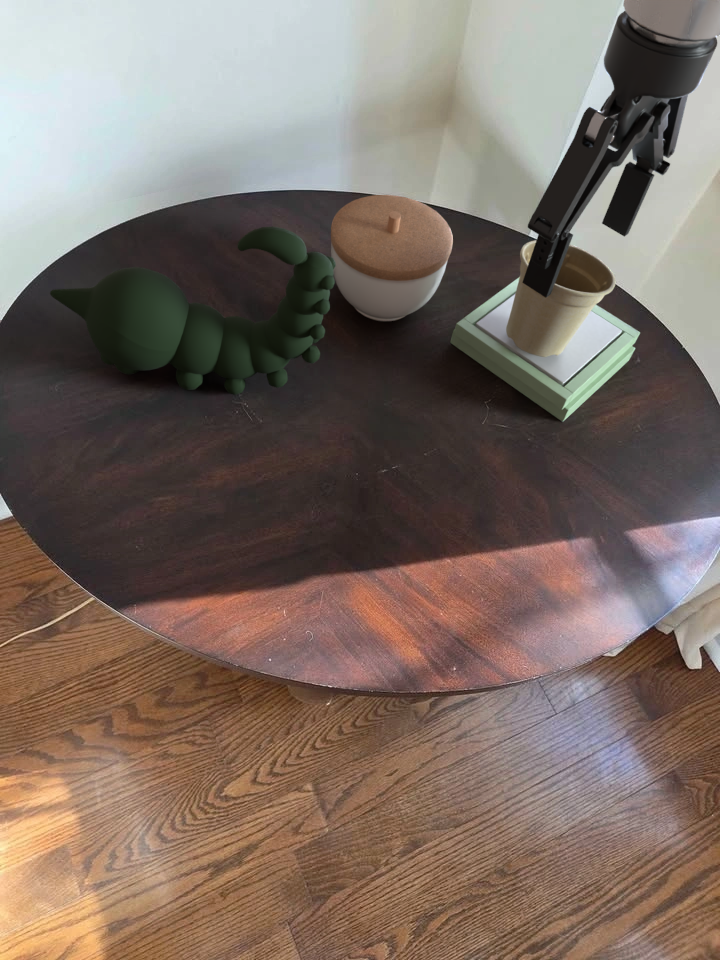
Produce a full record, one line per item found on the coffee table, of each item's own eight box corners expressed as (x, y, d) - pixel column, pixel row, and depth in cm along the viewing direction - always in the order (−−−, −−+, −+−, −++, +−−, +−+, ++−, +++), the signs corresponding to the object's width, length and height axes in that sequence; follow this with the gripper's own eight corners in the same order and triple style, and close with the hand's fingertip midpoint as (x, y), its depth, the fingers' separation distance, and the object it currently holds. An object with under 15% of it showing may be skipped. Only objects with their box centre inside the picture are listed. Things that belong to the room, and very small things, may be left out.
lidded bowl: (312, 323, 84) (317, 238, 75) (341, 252, 91) (349, 167, 82) (426, 350, 83) (445, 268, 74) (446, 276, 90) (465, 193, 81)
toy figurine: (314, 356, 83) (72, 323, 80) (343, 206, 68) (46, 156, 64) (309, 425, 78) (49, 391, 74) (340, 277, 63) (15, 227, 59)
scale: (631, 357, 85) (644, 334, 83) (559, 425, 79) (570, 402, 76) (523, 287, 90) (531, 263, 88) (446, 345, 84) (452, 321, 81)
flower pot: (481, 306, 82) (511, 231, 76) (563, 318, 84) (598, 246, 78) (500, 362, 75) (535, 285, 69) (588, 373, 77) (629, 300, 71)
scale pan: (617, 341, 84) (622, 330, 82) (558, 393, 78) (563, 383, 77) (533, 287, 87) (537, 276, 86) (472, 334, 82) (475, 323, 81)
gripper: (705, -38, 64) (613, 189, 81) (530, 52, 52) (466, 294, 70) (788, -2, 62) (675, 224, 79) (624, 100, 50) (533, 339, 67)
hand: (577, 257), depth 74 cm, fingers open, 13 cm apart
